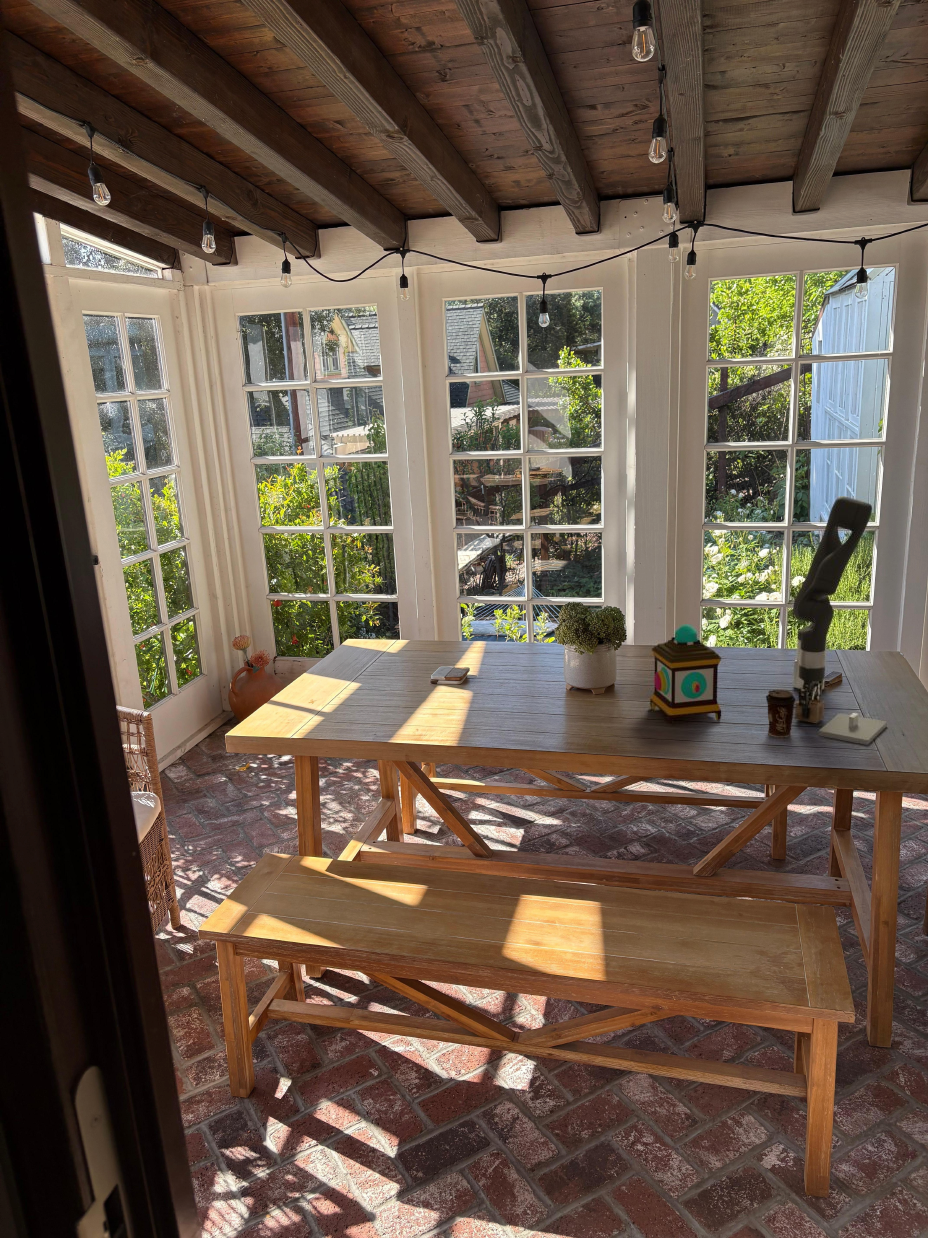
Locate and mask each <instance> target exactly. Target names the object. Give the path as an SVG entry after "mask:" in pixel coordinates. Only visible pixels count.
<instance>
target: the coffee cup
mask: <svg viewBox="0 0 928 1238" xmlns="http://www.w3.org/2000/svg"><path fill="white" fill-rule="evenodd" d="M765 698H766V699H765V700H766V702H767V719H768V730H767V733H768V735H769V734H770V735H769V736H771V737H773V736H774V737H773V738H779V737H782V738H783V737H785V738H788V737H789V736H790V735H791V730H792V725H793V718H794V710H795V703H796V698H795V696H794V693H793V692H792V691H790V690H787V689H772V690H768V694H767V695H766V696H765ZM782 738H781V739H782ZM783 739H784V738H783Z"/></svg>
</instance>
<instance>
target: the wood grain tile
mask: <svg viewBox="0 0 928 1238" xmlns="http://www.w3.org/2000/svg"><path fill="white" fill-rule="evenodd" d="M849 715H850V716H849V727H848V728H855V727H856V726H857V725H858V717H859V713H857V712H852V714H849Z"/></svg>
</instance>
